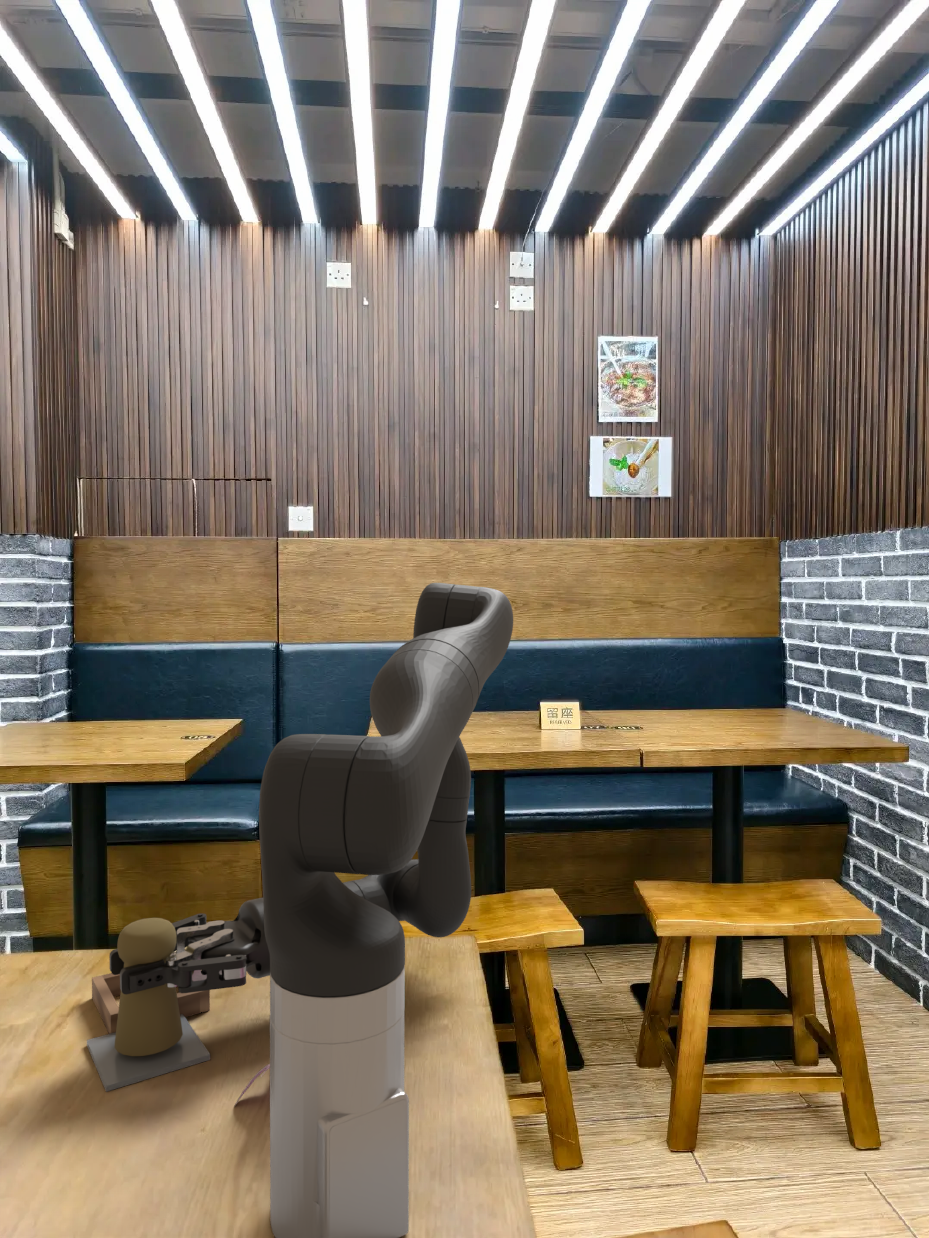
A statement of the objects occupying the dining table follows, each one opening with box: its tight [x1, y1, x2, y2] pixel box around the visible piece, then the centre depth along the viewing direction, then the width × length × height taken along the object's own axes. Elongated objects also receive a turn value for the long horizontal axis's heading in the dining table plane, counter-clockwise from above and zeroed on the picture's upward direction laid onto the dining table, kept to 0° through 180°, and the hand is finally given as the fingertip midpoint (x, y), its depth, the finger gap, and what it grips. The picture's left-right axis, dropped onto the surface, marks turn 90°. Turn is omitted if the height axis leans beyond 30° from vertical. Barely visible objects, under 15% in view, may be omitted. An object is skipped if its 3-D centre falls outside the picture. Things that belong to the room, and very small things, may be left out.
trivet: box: [86, 1014, 211, 1092], centre depth 78 cm, size 9×9×1 cm
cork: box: [115, 917, 183, 1056], centre depth 78 cm, size 6×6×11 cm
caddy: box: [91, 972, 211, 1034], centre depth 87 cm, size 10×10×2 cm
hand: (116, 972), depth 76 cm, fingers closed on cork, 4 cm apart
